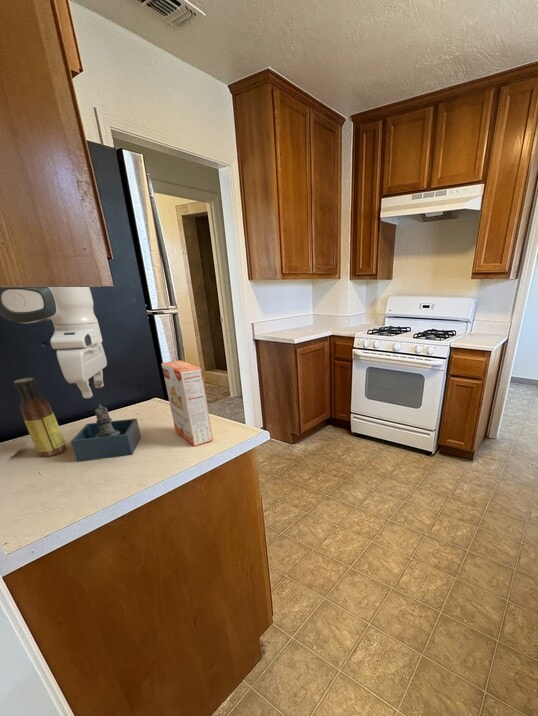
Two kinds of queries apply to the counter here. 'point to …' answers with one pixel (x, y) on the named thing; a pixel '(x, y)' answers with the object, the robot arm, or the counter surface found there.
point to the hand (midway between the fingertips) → (94, 392)
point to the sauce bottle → (39, 419)
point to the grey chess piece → (104, 423)
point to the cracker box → (188, 401)
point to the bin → (106, 441)
